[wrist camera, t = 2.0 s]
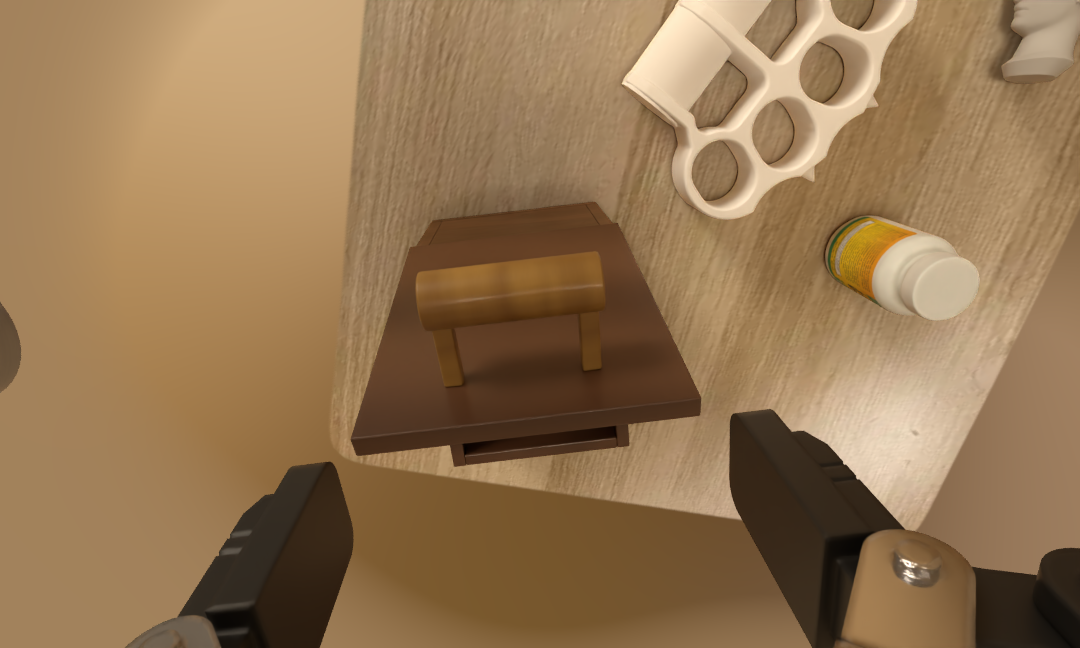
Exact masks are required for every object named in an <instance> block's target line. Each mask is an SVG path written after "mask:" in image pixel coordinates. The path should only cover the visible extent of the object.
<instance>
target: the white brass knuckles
mask: <svg viewBox="0 0 1080 648" xmlns="http://www.w3.org/2000/svg"><path fill="white" fill-rule="evenodd" d="M917 1H918V0H874V6H873V10H872V12H871V15H870V17H869V18H868V20H867V21H866V23H865V24H864V25H863V26H862V27H861V28H860V29H859V30H856V29H854V28H852V27H849V26H847V25H845V24H843V23H841V22H840V21H839V20H838V19H837V18H836V16H835V15H834V13H833V10H832V7H831V2H830V0H796V13H797V24H796V26H795V28H794V29H793V30H792V32H791V33H790V34H789V36H788V37H787V38H786V40H785V41H784V42H783V43H782V45H781V46H780V47H779V49H778V50H777V51H776V53H775V54H774V55H773V56H772V58H771V59H769V58H768V57H767V56H766V55H765V54H763V53H762V52H761V51H760V50H759V49H758V48H757V47H756V46H755V45H753V44H752V43H751V42H750V41H749V40H748V39H747V38H745V37H744V36H745V35H746V34H747V32H748V31H749V30H750V28H751V27H752V26H753V24H754V23H755V22H756V20H757V19H758V18H759V16H760V15H761V14H762V12H763V11H764V10H765V8H766V7H767V6H768V4H769V3H770V2H771V0H679V1H678V2H677V4H676V5H675V8H674V10H673V11H672V13H671V14H670V16H669V17H668V18H667V20H666V21H665V23H664V24H663V26H662V27H661V28H660V30H659V31H658V33H657V34H656V35H655V37H654V38H653V40H652V41H651V43H650V44H649V45H648V47H647V48H646V50H645V51H644V53H643V54H642V55H641V57H640V58H639V60H638V61H637V63H636V64H635V65H634V67H633V68H632V70H631V71H630V72H628V73H627V75H626V76H625V78H624V79H623V82H622V84H621V85H622V86H623V87H624V88H625V89H626V90H627V91H628V92H629V93H630V94H631V95H632V96H634V97H635V98H636V99H637V100H638V101H639V102H641V103H642V104H643V105H644V106H646V107H647V108H648V109H649V110H651V111H652V112H653V113H655V114H656V115H657V116H659V117H660V118H661V119H663V120H664V121H666V122H667V123H668V124H670V125H672V126H673V127H674V129H675V133H676V138H677V142H678V146H677V148H676V151H675V153H674V157H673V162H672V177H673V182H674V185H675V188H676V190H677V192H678V193H679V195H680V196H681V198H682V199H683V200H684V201H685V202H686V203H688V204H689V205H690V206H692V207H694V208H695V209H697V210H699V211H700V212H702V213H703V214H705V215H707V216H710V217H712V218H716V219H722V220H730V219H737V218H741V217H744V216H746V215H748V214H750V213H752V212H754V210H755V207H756V206H757V204H758V202H759V201H760V199H761V198H762V197H763V195H764V194H765V193H766V192H767V191H768V190H769V189H771V188H772V187H773V186H775V185H776V184H778V183H780V182H782V181H784V180H787V179H790V178H795V177H800V176H801V177H803V178H805V179H807V180H809V181H812V182H814V183H815V175H814V166H815V165H816V164H817V163H819V162H820V161H821V160H823V159H824V158H825V157H826V156H827V152H828V149H829V147H830V145H831V142H832V141H833V139H834V137H835V136H836V134H837V133H838V132H839V130H840V129H841V128H842V127H843V126H844V125H845V124H846V123H847V122H849V121H850V120H851V119H853V118H854V117H856V116H858V115H860V114H862V113H863V112H864V111H865V109H866V108H871V107H879V105H878V103H877V102H876V100H875V98H874V96H873V94H874V92H875V90H876V88H877V86H878V84H879V83H880V72H881V65H882V61H883V58H884V55H885V53H886V50H887V48H888V46H889V45H890V43H891V41H892V40H893V38H894V37H895V36H896V34H897V33H898V32H899V31H900V30H901V29H902V28H903V27H904V26H905V25H907V24H908V23H909V22H911V21H912V20H913V17H914V14H915V11H916V7H917ZM816 42H821V43H823V44H826V45H828V46H831V47H833V48H834V49H835V50H837V51H838V53H839V54H840V55H841V57H842V60H843V63H844V77H843V81H842V84H841V86H840V88H839V89H838V91H837V92H836V94H835V95H834V96H833V97H832V98H831V99H830V100H828V101H827V102H825V103H823V104H822V103H819V102H817V101H814V100H812V99H810V98H809V97H808V96H807V95H806V94H805V93H804V91H803V89H802V87H801V84H800V79H799V72H800V66H801V63H802V60H803V58H804V56H805V54H806V53H807V51H808V50H809V49H810V48H811V47H812V46H813V45H814V44H815V43H816ZM727 60H729V61H730V62H731V63H732V64H733V65H734V66H735V67H737V68H738V69H739V70H740V71H741V72H742V73H743V74H744V75H745V76H746V78H747V82H748V84H747V89H746V91H745V93H744V94H743V95H742V97H741V98H740V99H739V100H738V102H737V103H736V104H735V106H734V107H733V108H732V110H731V111H730V112H729V113H728V115H727V116H726V117H725V119H724V120H723V121H722V123H721V124H719V125H718V126H715V127H703V128H699V129H698V128H697V127H696V123H695V118H694V116H693V115H692V114H691V113H690V112H688V111H689V110H690V109H691V107H692V106H693V105H694V103H695V102H696V101H697V99H698V98H699V97H700V95H701V94H702V93H703V91H704V90H705V89H706V87H707V86H708V85H709V83H710V82H711V81H712V79H713V78H714V77H715V75H716V74H717V73H718V71H719V70H720V69H721V67H722V66H723V65H724V63H725V62H726V61H727ZM774 100H777V101H779V102H780V103H781V104H782V105H783V106H784V107H785V108H786V110H787V112H788V114H789V115H790V117H791V119H792V121H793V124H794V129H795V135H794V140H793V143H792V146H791V148H790V149H789V151H788V152H787V153H786V155H785V156H784V157H782V158H781V159H780V160H778V161H776V162H774V163H772V164H766V163H765V162H764V161H763V160H762V158H761V156H760V155H759V153H758V151H757V150H756V148H755V146H754V143H753V140H752V128H753V124H754V121H755V119H756V117H757V115H758V114H759V112H760V111H761V110H762V109H763V108H764V107H765V106H766V105H767V104H769V103H770V102H772V101H774ZM718 140H722V141H723V142H724V143H726V145H727V146H728V147H729V149H730V150H731V152H732V154H733V155H734V157H735V159H736V161H737V164H738V176H737V180H736V182H735V184H734V186H733V188H732V189H731V190H730V191H729V192H728V193H727V194H726V195H725V196H723V197H722V198H720V199H717V200H713V201H705V200H704V199H703V198H702V197H701V195H700V193H699V192H698V190H697V189H696V187H695V185H694V183H693V180H692V166H693V163H694V160H695V158H696V156H697V155H698V153H699V152H700V151H701V150H702V149H703V148H704V147H705V146H706V145H708V144H710V143H712V142H714V141H718Z"/></svg>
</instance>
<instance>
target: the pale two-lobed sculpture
mask: <svg viewBox="0 0 1080 648" xmlns="http://www.w3.org/2000/svg"><path fill="white" fill-rule="evenodd" d="M1013 2H1014V3H1015V4H1016V5H1015V7H1014V12H1015V14H1014V20H1013V21H1012V23H1011V29H1012V30H1013V31H1014V32H1016V33H1017V34H1019V35H1020V36H1022V41H1021V43H1020V45H1019V46H1018V48H1017V50H1016V52H1015V54H1014V55H1013V57H1012V58H1011V59H1010V60H1009V61H1007V62H1006V63H1005V64H1003V65H1002V66H1001V69H1002V73H1003V77H1004V80H1006V81H1009V82H1013V83H1022V84H1030V83H1041V82H1048V81H1052V80H1054V79H1055V78H1057V77H1058V76H1059V75H1061V74H1062V73H1063V72H1064V71H1066V70H1067V69H1068V68H1070V67H1071V66H1072V65H1073V64H1074V59H1073V52H1074V47H1075V44H1076V41H1077V39H1078V36H1079V34H1080V0H1013Z"/></svg>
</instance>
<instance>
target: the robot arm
mask: <svg viewBox="0 0 1080 648" xmlns="http://www.w3.org/2000/svg"><path fill="white" fill-rule="evenodd" d="M729 480H730V488H731V493H732V498H733V501H734V504H735V507H736V509H737V511H738V513H739V515H740V516H741V518H742V520H743V522H744V523H745V525H746V527H747V529H748V531H749V532H750V535H751V537H752V538H753V540H754V542H755V544H756V546H757V547H758V549H759V551H760V553H761V555H762V557H763V558H764V560H765V562H766V564H767V566H768V567H769V569H770V571H771V573H772V575H773V577H774V578H775V580H776V582H777V584H778V586H779V588H780V589H781V591H782V593H783V595H784V597H785V599H786V600H787V602H788V604H789V606H790V607H791V609H792V611H793V613H794V614H795V617H796V619H797V620H798V622H799V624H800V626H801V628H802V629H803V631H804V633H805V635H806V637H807V638H808V640H809V642H810V644H811V646H812V648H1080V549H1079V548H1063V549H1057V550H1054V551H1051V552H1049V553H1047V554H1046V555H1045V556H1044V557H1043V558H1042V560H1041V563H1040V567H1039V570H1038V574H1037V575H1031V574H1023V573H1014V572H1005V571H997V570H989V569H981V568H976V567H971V565H970V564H969V562H968V561H967V560H966V559H965V558H964V557H963V556H962V555H961V554H960V553H959V552H958V551H956V550H955V549H954V548H952V547H951V546H949V545H948V544H946V543H944V542H942V541H940V540H938V539H936V538H934V537H931V536H929V535H926V534H923V533H919V532H915V531H910V530H905V529H904V528H903V527H902V526H901V524H900V523H899V522H898V521H897V520H896V519H895V518H894V517H893V516H892V515H891V514H890V512H889V511H888V510H887V509H886V508H885V507H884V506H883V505H882V504H881V503H880V501H879V500H878V499H877V498H876V497H875V496H874V495H873V494H872V493H871V492H870V490H869V489H868V488H867V487H866V486H865V485H864V484H863V483H862V482H861V481H860V480H859V479H858V480H857V479H856V475H855V474H854V473H853V472H852V471H851V470H850V469H849V467H848V466H847V465H844V464H843V461H842V460H841V459H840V458H839V456H838V455H837V454H836V453H835V452H834V451H833V450H832V449H831V448H830V447H829V446H828V444H826V443H824V442H823V441H821V440H819V439H817V438H815V437H814V436H812V435H810V434H808V433H807V432H805V431H796V432H791V431H790V429H789V428H788V427H787V426H786V425H785V423H784V422H783V421H782V420H781V419H780V417H779V416H778V415H777V414H776V413H775V412H774V411H773V410H771V409H767V410H759V411H751V412H743V413H735V414H733V415H732V416H731V420H730V467H729ZM352 550H353V527H352V523H351V519H350V515H349V512H348V508H347V505H346V501H345V498H344V494H343V491H342V487H341V484H340V480H339V477H338V473H337V470H336V468H335V466H334V465H333V463H331V462H323V463H315V464H307V465H299V466H292V467H291V468H290V469H289V470H288V472H287V473H286V475H285V476H284V478H283V480H282V482H281V483H280V485H279V487H278V488H277V490H276V492H275V493H274V494H270V495H265V496H264V497H262V498H261V499H260V500H259V501H258V502H257V503H255V504H254V505H253V506H252V507H251V508H250V509H248V510H247V511H246V512H245V513H244V514H243V515H242V517H241V518H240V520H239V522H238V523H237V525H236V526H235V528H234V529H233V531H232V532H231V534H230V539H227V540H226V542H225V543H224V545H223V547H222V548H221V550H220V551H219V556H216V557H215V559H214V561H213V562H212V564H211V565H210V567H209V568H208V570H207V572H206V573H205V575H204V576H203V578H202V579H201V581H200V582H199V584H198V586H197V587H196V589H195V590H194V592H193V593H192V595H191V597H190V598H189V600H188V601H187V603H186V604H185V606H184V608H183V609H182V611H181V612H180V614H179V616H178V617H177V618H173V619H170V620H168V621H165V622H162V623H160V624H158V625H156V626H155V627H152V628H151V629H149V630H147V631H146V632H144V633H143V634H141V635H140V636H138V637H137V638H135V640H133V641H132V642H131V643H130V644H128V645H127V646H126V647H125V648H320V645H321V642H322V639H323V636H324V633H325V631H326V627H327V625H328V622H329V619H330V616H331V613H332V610H333V607H334V604H335V602H336V599H337V596H338V593H339V590H340V587H341V584H342V581H343V578H344V576H345V573H346V570H347V567H348V564H349V561H350V558H351V555H352Z"/></svg>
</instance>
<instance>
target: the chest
mask: <svg viewBox="0 0 1080 648" xmlns="http://www.w3.org/2000/svg"><path fill="white" fill-rule="evenodd" d="M604 224H613V223H612V222H611V221H610V220H609V218H608V217H607V216H606V215H605V213H604V212H603V211H602V210H601V208H600V207H599V206H598V205H597V203H596V202H587V203H579V204H570V205H562V206H553V207H544V208H536V209H527V210H519V211H510V212H501V213H493V214H484V215H476V216H467V217H458V218H450V219H441V220H433V221H432V222H431V223H430V225H429V227H428V228H427V230H426V231H425V233H424V235H423V236H422V238H421V239H420V241H419V242H418V244H417V246H424V245H432V244H441V243H450V242H458V241H467V240H475V239H484V238H493V237H501V236H510V235H518V234H527V233H536V232H544V231H553V230H561V229H570V228H578V227H587V226H596V225H604ZM624 446H629V432H628V424H625V425H617V426H608V427H600V428H591V429H583V430H574V431H566V432H557V433H549V434H540V435H532V436H523V437H515V438H506V439H498V440H489V441H481V442H472V443H464V444H455V445H450V448H451V453H452V458H453V463H454V467H456V466H465V465H466V464H467V465H471V464H479V463H488V462H496V461H505V460H513V459H522V458H530V457H539V456H547V455H556V454H564V453H572V452H581V451H589V450H598V449H606V448H615V447H624Z"/></svg>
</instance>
